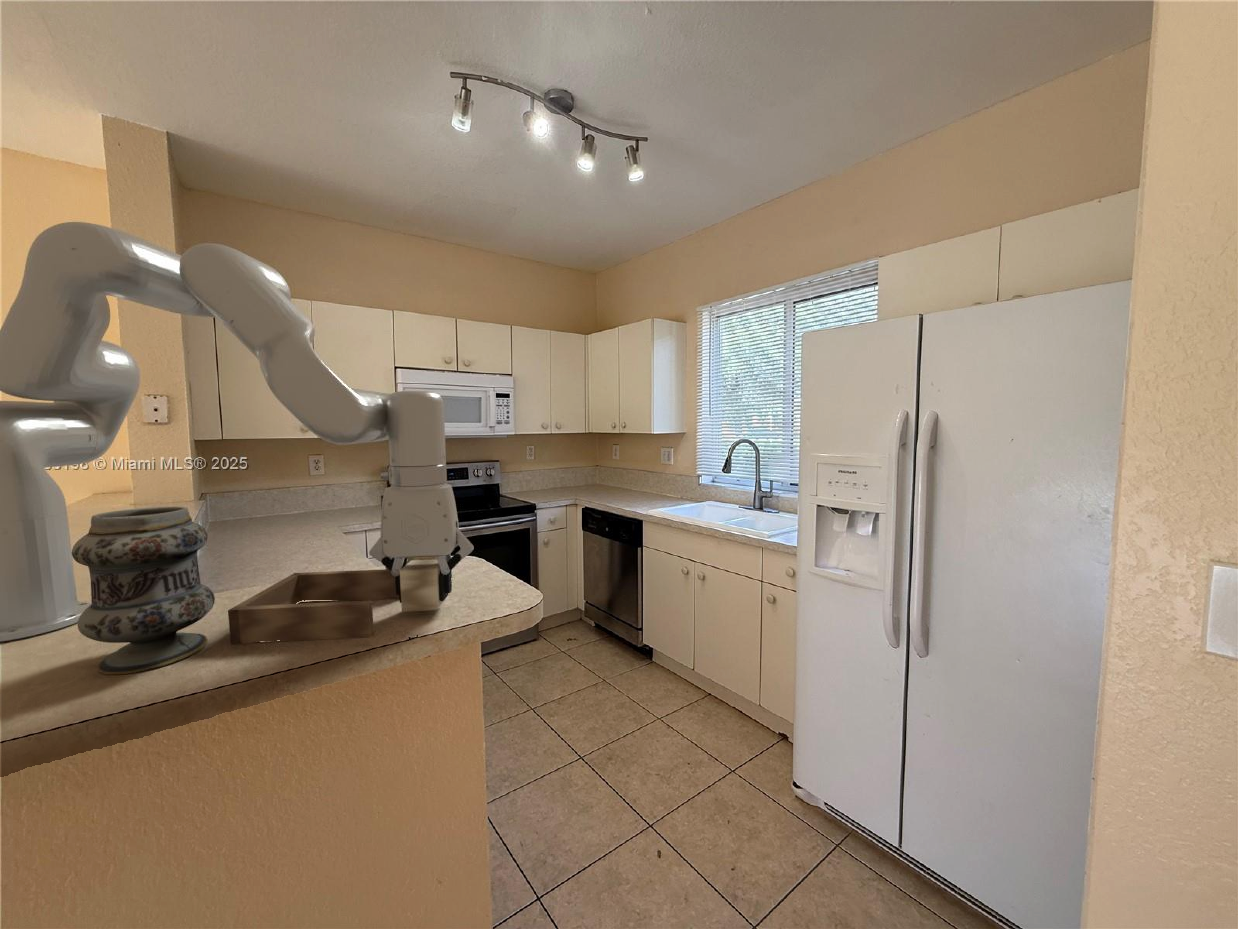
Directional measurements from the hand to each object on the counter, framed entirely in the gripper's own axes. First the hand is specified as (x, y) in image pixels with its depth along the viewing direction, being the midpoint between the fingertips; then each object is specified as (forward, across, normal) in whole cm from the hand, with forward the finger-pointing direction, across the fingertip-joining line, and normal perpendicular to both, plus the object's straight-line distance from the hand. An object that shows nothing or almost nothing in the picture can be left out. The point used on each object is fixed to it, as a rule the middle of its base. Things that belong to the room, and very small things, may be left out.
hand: (424, 597), depth 73 cm
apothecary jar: (+3, -30, -10) cm, 31 cm away
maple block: (+1, 0, 0) cm, 1 cm away
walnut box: (+2, -13, 0) cm, 13 cm away
